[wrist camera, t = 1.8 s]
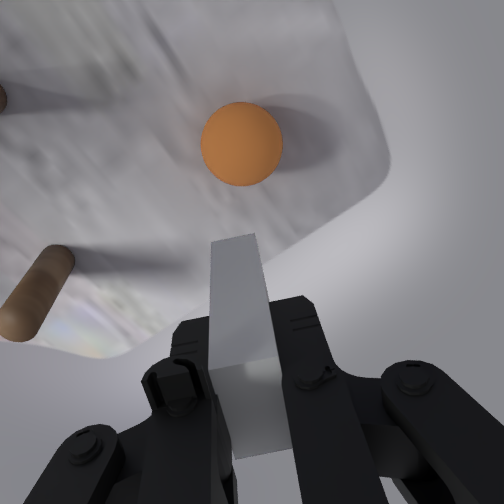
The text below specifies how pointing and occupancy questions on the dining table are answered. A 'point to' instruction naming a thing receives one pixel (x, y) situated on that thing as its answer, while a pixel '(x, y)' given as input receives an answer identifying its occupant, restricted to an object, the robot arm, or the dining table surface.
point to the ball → (241, 144)
